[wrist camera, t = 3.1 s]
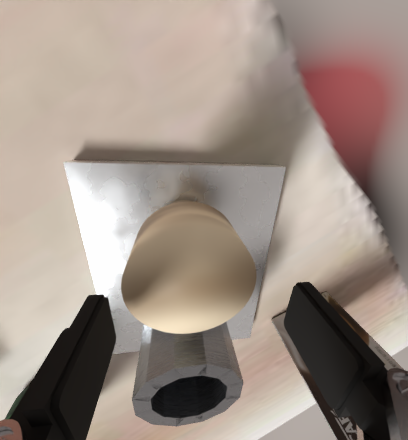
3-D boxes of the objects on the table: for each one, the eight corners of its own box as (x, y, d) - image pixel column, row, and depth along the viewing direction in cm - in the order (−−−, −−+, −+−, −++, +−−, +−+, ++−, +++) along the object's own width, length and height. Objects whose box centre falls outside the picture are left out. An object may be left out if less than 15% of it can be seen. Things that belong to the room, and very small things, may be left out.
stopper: (139, 186, 15) (110, 230, 8) (226, 186, 17) (267, 225, 9) (146, 260, 18) (129, 340, 11) (220, 256, 20) (247, 326, 12)
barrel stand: (73, 159, 15) (-55, 190, 7) (277, 164, 18) (371, 191, 9) (115, 342, 25) (84, 452, 16) (246, 327, 27) (279, 415, 19)
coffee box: (282, 340, 30) (385, 532, 15) (269, 318, 27) (379, 526, 13) (335, 314, 29) (494, 491, 15) (327, 289, 27) (513, 475, 12)
